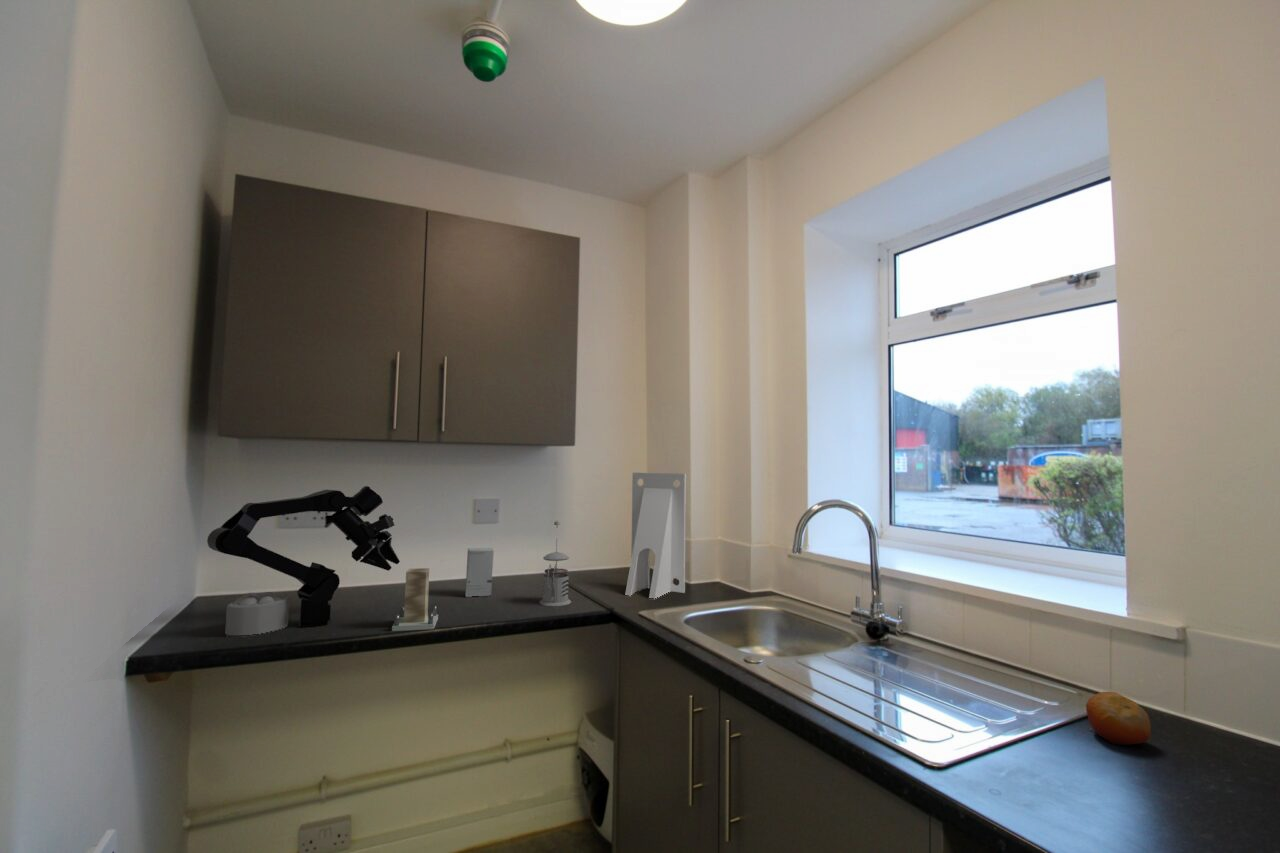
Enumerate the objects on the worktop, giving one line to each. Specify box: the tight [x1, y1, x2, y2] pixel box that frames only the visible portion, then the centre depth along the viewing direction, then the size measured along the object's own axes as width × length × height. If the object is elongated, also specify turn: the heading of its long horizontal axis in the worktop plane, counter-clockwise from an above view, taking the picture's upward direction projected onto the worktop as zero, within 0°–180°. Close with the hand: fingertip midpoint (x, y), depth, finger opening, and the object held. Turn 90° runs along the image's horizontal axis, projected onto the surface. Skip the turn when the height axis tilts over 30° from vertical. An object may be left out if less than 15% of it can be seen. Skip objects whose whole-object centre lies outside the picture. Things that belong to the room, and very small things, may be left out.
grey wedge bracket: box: [624, 472, 687, 600], centre depth 194 cm, size 20×14×40 cm
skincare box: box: [464, 547, 495, 598], centre depth 188 cm, size 8×6×15 cm
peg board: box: [391, 604, 439, 632], centre depth 153 cm, size 10×10×4 cm
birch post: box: [404, 567, 430, 623], centre depth 153 cm, size 5×5×13 cm
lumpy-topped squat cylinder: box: [224, 591, 290, 636], centre depth 147 cm, size 10×13×9 cm
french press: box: [539, 520, 572, 607], centre depth 179 cm, size 10×12×25 cm
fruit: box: [1085, 691, 1152, 746], centre depth 93 cm, size 8×8×8 cm
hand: (394, 566), depth 161 cm, fingers open, 9 cm apart
